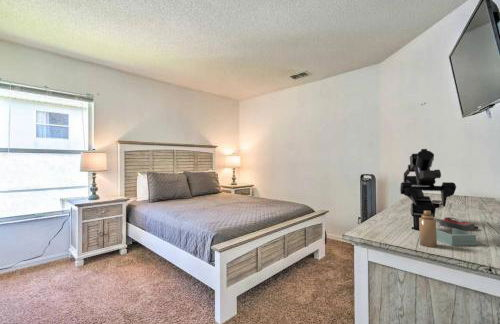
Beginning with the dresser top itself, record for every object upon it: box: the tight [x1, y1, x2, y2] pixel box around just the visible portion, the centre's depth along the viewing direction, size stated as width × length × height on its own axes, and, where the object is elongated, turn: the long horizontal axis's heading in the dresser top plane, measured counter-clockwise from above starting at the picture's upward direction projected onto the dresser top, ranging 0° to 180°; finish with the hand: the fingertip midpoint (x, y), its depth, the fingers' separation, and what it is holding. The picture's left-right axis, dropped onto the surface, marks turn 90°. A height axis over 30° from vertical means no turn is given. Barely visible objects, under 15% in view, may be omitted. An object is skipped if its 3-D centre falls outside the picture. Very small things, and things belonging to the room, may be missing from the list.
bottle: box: [419, 210, 438, 248], centre depth 92 cm, size 5×5×13 cm
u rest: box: [436, 228, 480, 247], centre depth 96 cm, size 10×10×4 cm
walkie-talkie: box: [434, 216, 479, 232], centre depth 118 cm, size 9×4×20 cm
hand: (430, 205), depth 98 cm, fingers open, 9 cm apart
